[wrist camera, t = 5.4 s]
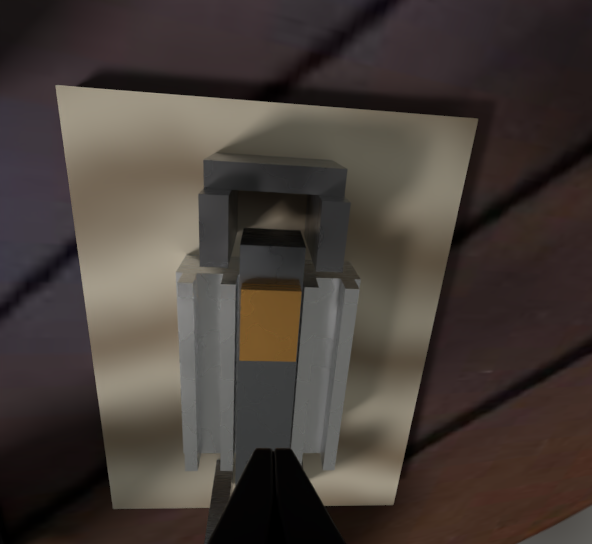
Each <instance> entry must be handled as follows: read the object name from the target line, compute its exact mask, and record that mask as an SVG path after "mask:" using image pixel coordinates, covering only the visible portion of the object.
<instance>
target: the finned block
mask: <svg viewBox="0 0 592 544" xmlns="http://www.w3.org/2000/svg"><path fill="white" fill-rule="evenodd" d="M239 271H240V257H237V256H231V258H230V262H229V266H228V268H219V267H200V257H199V255H191V254H186V256H185V258H184V259H183V261H182V263H181V264H180V266H179V268H178V269H177V271H176V292H177V315H178V338H179V362H180V385H181V408H182V431H183V453H184V454H185V471H198V467H199V462H200V457H201V453H220V471H233V463H234V453H236V422H237V372H238V321H239ZM360 282H361V279H360V277H359V276H358V274H357V272H356V271H355V269H354V267H353V266H352V264H351V262H350V261H344V265H343V273H342V272H317V271H315V267H314V264H313V261H312V260H307V259H305V266H304V278H303V290H302V302H301V315H300V327H299V339H298V351H297V364H296V376H295V388H294V400H293V412H292V425H291V437H290V449H292V450H293V452H294V453H295V455H296V457H297V459H298V460H299V462H300V464H301V466H302V456H303V453H320V457H321V463H322V469H323V470H335V463H336V456H337V448H338V441H339V434H340V427H341V420H342V413H343V405H344V398H345V391H346V384H347V377H348V370H349V362H350V355H351V348H352V341H353V334H354V327H355V319H356V312H357V305H358V298H359V291H360Z"/></svg>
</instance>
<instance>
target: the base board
mask: <svg viewBox="0 0 592 544" xmlns="http://www.w3.org/2000/svg"><path fill="white" fill-rule="evenodd" d="M56 93H57V100H58V107H59V115H60V122H61V130H62V137H63V144H64V152H65V159H66V166H67V174H68V181H69V188H70V196H71V203H72V211H73V218H74V225H75V233H76V240H77V247H78V255H79V262H80V269H81V277H82V284H83V292H84V299H85V306H86V314H87V321H88V328H89V336H90V343H91V351H92V358H93V365H94V373H95V380H96V387H97V395H98V402H99V409H100V417H101V424H102V432H103V439H104V446H105V454H106V461H107V468H108V476H109V483H110V490H111V498H112V505H113V509H149V508H210V502H211V495H212V489H213V482H214V475H215V468H216V462H217V460H220V453H201V457H200V462H199V467H198V471H185V454H184V453H183V431H182V408H181V385H180V362H179V338H178V315H177V292H176V271H177V269H178V268H179V266H180V264H181V263H182V261H183V259H184V258H185V256H186V254H191V255H199V205H198V194H199V193H200V192H201V191H202V189H203V188H204V175H203V160H204V159H205V158H207V157H209V156H210V155H212V154H214V153H215V152H218V153H233V154H248V155H263V156H278V157H293V158H308V159H323V160H333V161H335V162H336V163H338V164H340V165H341V166H343V167H345V168H347V169H348V170H347V179H346V188H345V197H346V198H347V199H348V200H349V201H350V202H351V206H350V215H349V223H348V231H347V240H346V248H345V256H344V261H350V262H351V264H352V266H353V267H354V269H355V271H356V272H357V274H358V276H359V277H360V279H361V282H360V291H359V298H358V305H357V312H356V319H355V327H354V334H353V341H352V348H351V355H350V362H349V370H348V377H347V384H346V391H345V398H344V405H343V413H342V420H341V427H340V434H339V441H338V448H337V456H336V463H335V470H323V469H322V463H321V457H320V453H303V456H302V460H303V469H304V471H305V473H306V475H307V476H308V478H309V480H310V482H311V483H312V485H313V487H314V489H315V490H316V492H317V494H318V496H319V497H320V499H321V501H322V503H323V504H324V506H356V505H393V504H394V500H395V495H396V491H397V486H398V482H399V477H400V473H401V468H402V464H403V459H404V454H405V450H406V445H407V441H408V436H409V432H410V427H411V423H412V418H413V414H414V409H415V405H416V400H417V395H418V391H419V386H420V382H421V377H422V373H423V368H424V364H425V359H426V355H427V350H428V346H429V341H430V336H431V332H432V327H433V323H434V318H435V314H436V309H437V305H438V300H439V296H440V291H441V287H442V282H443V277H444V273H445V268H446V264H447V259H448V255H449V250H450V246H451V241H452V237H453V232H454V228H455V223H456V218H457V214H458V209H459V205H460V200H461V196H462V191H463V187H464V182H465V178H466V173H467V169H468V164H469V159H470V155H471V150H472V146H473V141H474V137H475V132H476V128H477V123H478V119H476V118H464V117H451V116H438V115H426V114H413V113H401V112H388V111H375V110H363V109H350V108H338V107H325V106H313V105H300V104H287V103H275V102H262V101H250V100H237V99H224V98H212V97H199V96H187V95H174V94H161V93H149V92H136V91H124V90H111V89H98V88H86V87H73V86H61V85H56ZM306 206H307V194H294V193H277V192H260V191H243V190H238V220H237V236H236V239H235V243H234V247H233V251H232V254H231V256H237V257H240V243H241V238H242V233H243V229H244V228H262V229H282V230H300V231H301V234H302V237H303V240H304V243H305V246H306V254H305V259H307V260H312V258H311V255H310V252H309V249H308V246H307V243H306V240H305V237H304V231H305V219H306ZM235 472H236V453H234V463H233V490H234V488H235ZM232 492H233V491H232Z"/></svg>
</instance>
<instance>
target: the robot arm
mask: <svg viewBox="0 0 592 544" xmlns="http://www.w3.org/2000/svg"><path fill="white" fill-rule="evenodd" d="M0 544H9V542H8V539H7V535H6V532H5V528H4V524H3V521H2V517H1V514H0ZM207 544H346V543H345V541H344V539H343V538H342V536H341V534H340V532H339V531H338V529H337V527H336V525H335V524H334V522H333V520H332V518H331V517H330V515H329V513H328V511H327V510H326V508H325V506H324V504H323V503H322V501H321V499H320V497H319V496H318V494H317V492H316V490H315V489H314V487H313V485H312V483H311V482H310V480H309V478H308V476H307V475H306V473H305V471H304V469H303V468H302V466H301V464H300V462H299V460H298V459H297V457H296V455H295V453H294V452H293V450H292V449H290V448H275V449H274V450H272V449H271V448H256V449H254V451H253V452H252V454H251V456H250V458H249V460H248V462H247V464H246V466H245V468H244V470H243V472H242V474H241V476H240V478H239V480H238V482H237V484H236V486H235V488H234V490H233V492H232V494H231V496H230V498H229V500H228V502H227V504H226V506H225V508H224V510H223V512H222V514H221V516H220V518H219V520H218V522H217V524H216V526H215V528H214V530H213V532H212V534H211V536H210V538H209V540H208V542H207Z"/></svg>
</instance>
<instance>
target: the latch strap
mask: <svg viewBox="0 0 592 544" xmlns="http://www.w3.org/2000/svg"><path fill="white" fill-rule="evenodd" d="M305 254H306V246H305V243H304V240H303V237H302V234H301V231H300V230H282V229H262V228H244V229H243V233H242V238H241V243H240V271H239V321H238V372H237V422H236V472H235V486H236V484H237V482H238V480H239V478H240V476H241V474H242V472H243V470H244V468H245V466H246V464H247V462H248V460H249V458H250V456H251V454H252V452H253V451H254V449H256V448H271V449H272V450H274V449H275V448H290V437H291V425H292V412H293V400H294V388H295V376H296V364H297V351H298V339H299V327H300V315H301V302H302V290H303V278H304V266H305Z"/></svg>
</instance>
